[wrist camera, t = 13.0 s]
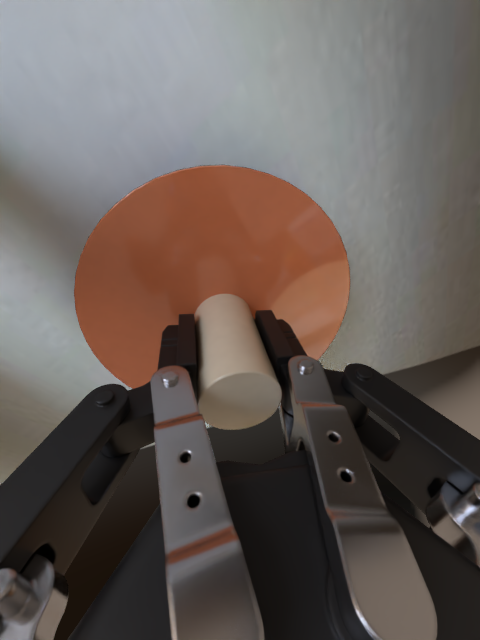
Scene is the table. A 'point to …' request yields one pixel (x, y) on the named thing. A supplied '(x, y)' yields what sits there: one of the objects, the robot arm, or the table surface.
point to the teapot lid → (212, 282)
